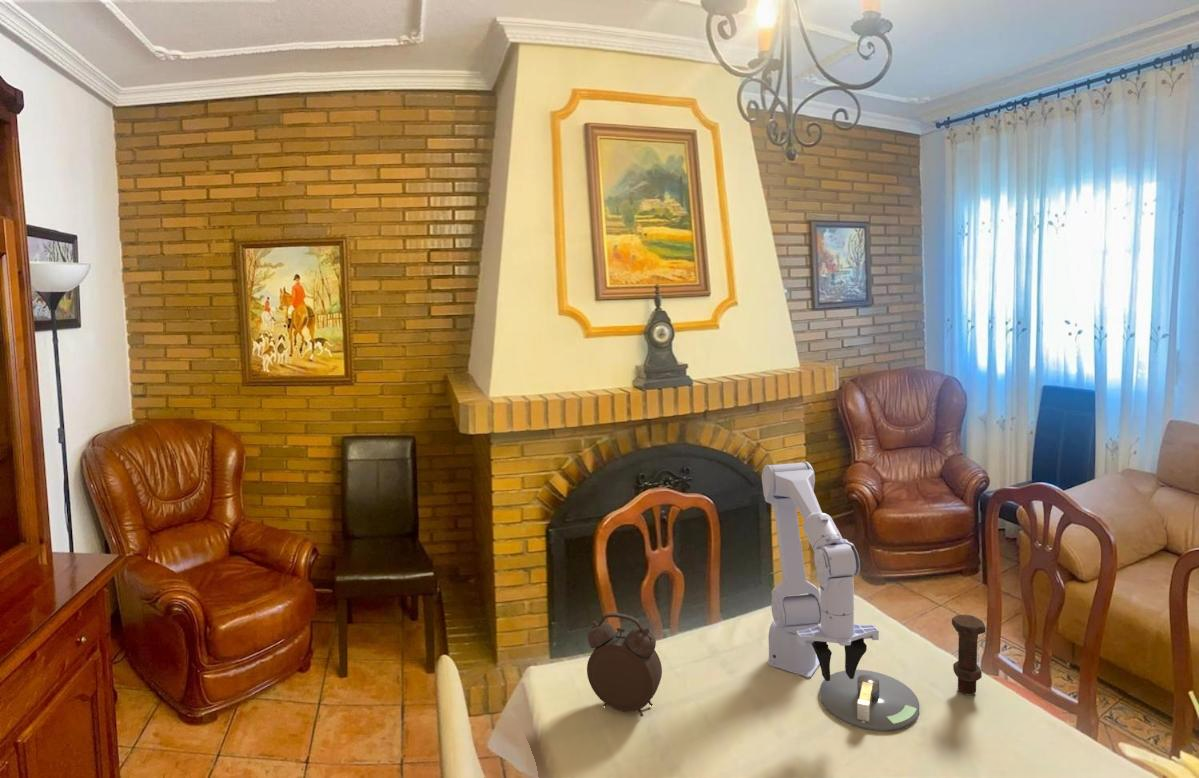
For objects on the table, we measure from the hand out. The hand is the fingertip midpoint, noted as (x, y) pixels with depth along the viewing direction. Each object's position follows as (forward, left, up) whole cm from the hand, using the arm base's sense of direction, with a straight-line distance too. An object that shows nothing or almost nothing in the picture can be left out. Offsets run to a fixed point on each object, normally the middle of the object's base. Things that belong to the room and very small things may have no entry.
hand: (837, 676), depth 121 cm
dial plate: (+3, +10, -9) cm, 14 cm away
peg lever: (+3, +6, -8) cm, 11 cm away
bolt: (+18, +23, -10) cm, 30 cm away
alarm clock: (-36, -17, -10) cm, 41 cm away
